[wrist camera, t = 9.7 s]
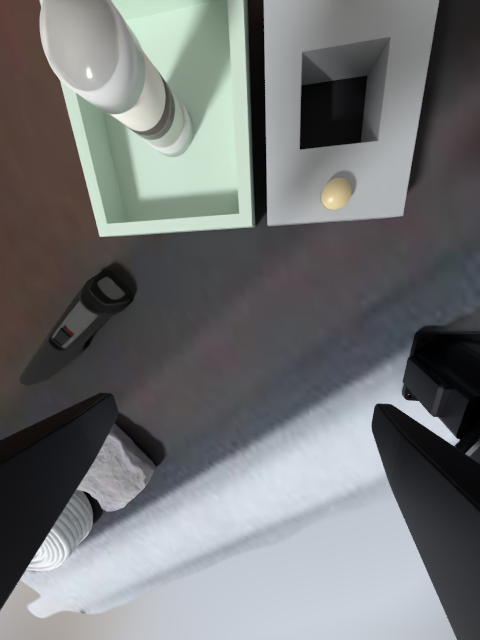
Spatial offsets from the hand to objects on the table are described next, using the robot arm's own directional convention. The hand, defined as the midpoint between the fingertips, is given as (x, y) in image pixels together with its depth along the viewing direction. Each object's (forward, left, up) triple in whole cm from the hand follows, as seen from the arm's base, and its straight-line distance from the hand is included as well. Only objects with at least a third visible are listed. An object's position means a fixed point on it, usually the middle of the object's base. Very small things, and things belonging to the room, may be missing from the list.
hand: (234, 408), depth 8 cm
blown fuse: (+5, -12, -12) cm, 18 cm away
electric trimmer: (+18, +3, -14) cm, 23 cm away
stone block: (+19, +19, -14) cm, 30 cm away
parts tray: (+5, -12, -13) cm, 19 cm away
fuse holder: (-5, -12, -13) cm, 18 cm away
